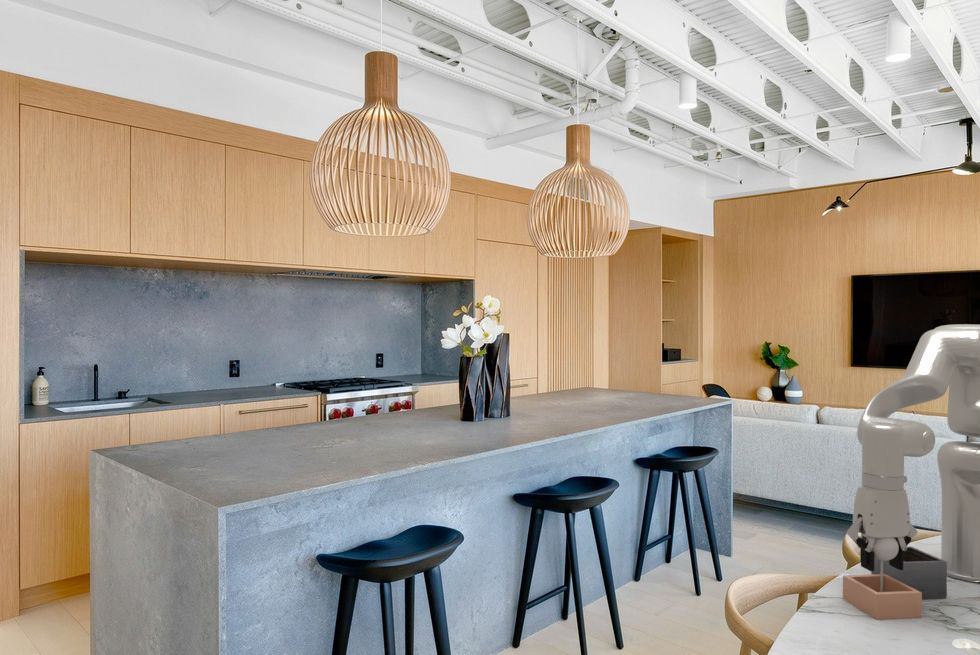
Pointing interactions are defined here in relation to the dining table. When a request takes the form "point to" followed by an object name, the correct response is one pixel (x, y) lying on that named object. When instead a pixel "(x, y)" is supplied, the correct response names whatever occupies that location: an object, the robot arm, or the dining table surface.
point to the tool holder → (882, 596)
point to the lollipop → (884, 552)
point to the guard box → (919, 573)
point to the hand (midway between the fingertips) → (881, 567)
